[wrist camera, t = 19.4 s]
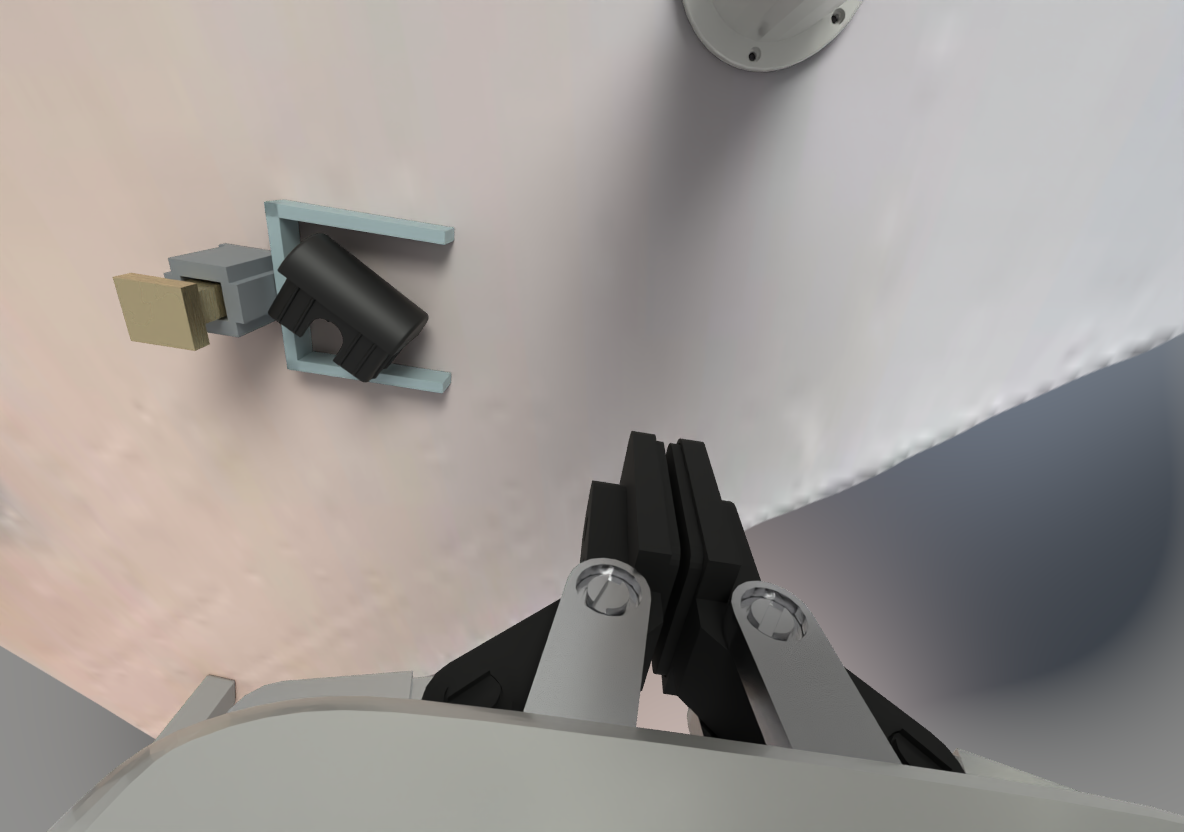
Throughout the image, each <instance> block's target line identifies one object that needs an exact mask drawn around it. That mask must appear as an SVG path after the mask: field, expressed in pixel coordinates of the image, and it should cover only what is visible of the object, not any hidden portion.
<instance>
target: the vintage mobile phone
mask: <svg viewBox="0 0 1184 832" xmlns="http://www.w3.org/2000/svg"><path fill="white" fill-rule="evenodd" d="M234 703H235V681H234V680H230V679H226V678H222V677H218V676H213V675H208V676H206V678H205V679H204V680H203V681H202V683H201V684H200V685H199V686H198V688H197V689H196V690H195V691H194V692H193V694H192V695H191V696H190V697H189V699H188V700H187V701H186V702H185V704H184V705H183V706H182V707H181V709H180V710H179V711H178V712H177V714H176V715H175V716H174V717H173V719H172V720H171V721H170V722H169V724H168V725H167V726H166V727H165V728H164V730H163V731H162V732H161V733H160V735H159V736H158V737H157V738H156V740H155V741H154V742H156V741H158V740H160V739H162V738H164V737H166V736H168V735H170V734H172V733H174V732H176V731H178V730H181V729H183V728H186V727H188V726H191V725H194V724H196V723H199V722H201V721H204V720H207V719H211V718H214V717H217V716H220V715H223V714H226V713H227V712H228V710H229V709H230V708H231V707H232V706H233V705H234ZM154 742H153V743H154Z"/></svg>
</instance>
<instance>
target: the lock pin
mask: <svg viewBox="0 0 1184 832" xmlns="http://www.w3.org/2000/svg"><path fill="white" fill-rule="evenodd" d="M113 280H114V283H115V287H116V290H117V294H118V297H119V301H120V304H121V308H122V311H123V315H124V318H125V322H126V325H127V328H128V332H129V335H130V339H131V341H135V342H142V343H148V344H155V345H161V346H167V347H174V348H180V349H187V350H193V351H196V350H198V349H200V348H202V347H205V346H207V345H209V344H210V343H209V338H208V334H207V329H206V323H209V322H212V321H214V320H217V319H219V318H222V317H225V316H227V312H226V307H225V302H224V297H223V292H222V286H221V282H216V281H209V280H203V279H197V278H192V279H189V280H185V281H179V280H173V279H167V278H160V277H154V276H148V275H142V274H135V273H129V274H124V275H120V276H115V277H113Z"/></svg>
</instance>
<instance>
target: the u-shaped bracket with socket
mask: <svg viewBox="0 0 1184 832" xmlns="http://www.w3.org/2000/svg"><path fill="white" fill-rule="evenodd" d="M264 205H265V213H266V220H267V227H268V234H269V241H270V248H271V251H270V250H264V249H257V248H251V247H245V246H239V245H233V244H227V243H225V244H220V245H219V247H218V248H213V249H208V250H204V251H199V252H194V253H189V254H184V255H180V256H175V257H170V258H168V260H169V265H170V269H171V272H166V273H164V277H165V278H167V279H173V280H179V281H185V280H189V279H192V278H197V279H203V280H209V281H216V282H221V286H222V292H223V297H224V302H225V307H226V312H227V316H225V317H222V318H219V319H217V320H214V321H212V322H209V323H206V329H207V332H208V333H214V334H221V335H227V336H233V337H241V336H243V335H245V334H247V333H249V332H252V331H254V330H256V329H258V328H260V327H263V326H265V325H267V324H269V323H271V322H273V321H276V320H274V319H273V318H272V317H271V316H269V314H268V310H269V308H270V307H271V305H272V303H273V301H274V300H275V298H276V296H277V294H278V293H279V291H280V289H281V288H282V286H283V284H284V282H285V281H286V279H287V278H286V277H284V276H283V275H282V274H280V273H279V272H278V271H277V269H278V268H279V266H280V265H281V263H282V262H283V260H284V259H285V258H286V257H287V255H288V254H289V253H290V252H291V251H292V250H293V249H294V248H295V247H296V246H297V245H298V244H300V234H299V225H298V221H303V222H309V223H315V224H321V225H327V226H333V227H339V228H345V229H351V230H357V231H364V232H370V233H376V234H382V235H388V236H394V237H400V238H406V239H412V240H419V241H425V242H431V243H437V244H443V245H445V244H447V243H450V242H452V241H454V228H453V227H447V226H440V225H434V224H428V223H422V222H416V221H410V220H404V219H398V218H392V217H386V216H380V215H374V214H368V213H362V212H355V211H349V210H343V209H337V208H331V207H325V206H319V205H313V204H307V203H301V202H295V201H289V200H275V201H266V202H264ZM281 326H282V333H283V340H284V347H285V354H286V361H287V369H290V370H296V371H302V372H309V373H315V374H322V375H328V376H334V377H341V378H347V379H354V380H358V379H357V378H356V377H354V376H353V375H351V374H350V373H349V372H347V371H346V370H344V369H343V368H342V367H340V366H339V365H337V364H336V363H335V362H333V359H334V358H335V356H336V355H334V354H328V353H321V352H315V351H313V348H312V339H311V331H310V326H309V327H308V329H307V330H306V332H305V334H304V335H303V336H302V337H298V336H297V335H295V334H294V333H293V332H291V331H290V330H288V329H287V328H286V327H284V326H283V325H281ZM369 382H373V383H379V384H386V385H392V386H399V387H405V388H411V389H418V390H424V391H431V392H437V393H443V392H444V391H445V390H446V388H447V387H448V386H449V385H450V383H451V373H449V372H442V371H436V370H430V369H423V368H417V367H410V366H404V365H398V364H390V365H389V367H388V368H387V369H383V370H382V371H381V372H380V374H379V375H378V376H377V378H376V379H371V380H370V381H369Z"/></svg>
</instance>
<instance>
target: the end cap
mask: <svg viewBox="0 0 1184 832" xmlns="http://www.w3.org/2000/svg"><path fill="white" fill-rule="evenodd" d="M277 271H278V272H279V273H280V274H282V275H283V276H284V277H286V278H287V279H286V281H285V282H284V284H283V286H282V288H281V289H280V291H279V293H278V294H277V296H276V298H275V300H274V301H273V303H272V305H271V307H270V308H269V310H268V314H269V316H271V317H272V318H273V319H274V320H276V321H277V322H279V323H280V324H281V325H283V326H284V327H286V328H287V329H288V330H290V331H291V332H293V333H294V334H295V335H297V336H298V337H302V336H303V335H304V334H305V332H306V330H307V329H308V327H309V326H310V324H311V322H312V321H313V320H314V319H319V318H320V319H325V320H327V321H328V322H329V321H331V322H332V323H334V324H335V325H336V326H337V327H338V328H339V330H340V331H341V334H342V336H343V345H342V347H341V349H340V350H339V352H338V353H337V355H336V356H335V358H334V359H333V362H335V363H336V364H337V365H339V366H340V367H342V368H343V369H344V370H346V371H347V372H349V373H350V374H351V375H353V376H354V377H356V378H357V379H358V380H360V381H362V382H369V381H370V380H371V379H376V378H377V376H378V375H379V374H380V372H381V371H382V370H383V369H387V368H388V367H389V365H390V364H391V363H392V361H393V360H394V359H395V357H396V356H397V355H398V354H399V352H400V351H401V350H402V348H403V347H404V346H406V345H407V344H408V343H409V342H410V341H411V340H413V339H414V338H415V337H416V336H417V335H418V334H419V333H420V332H421V330H422V329H423V327H424V326H425V324H426V323H427V321H428V318H429V317H428V314H427V313H426V312H424V311H423V310H422V309H420V308H419V307H418V306H417V305H415V304H414V303H413V302H412V301H410V300H409V299H408V298H406V297H405V296H404V295H403V294H401V293H400V292H399V291H398V290H396V289H395V288H394V287H393V286H391V285H390V284H389V283H387V282H386V281H385V280H384V279H382V278H381V277H380V276H379V275H377V274H376V273H375V272H374V271H372V270H371V269H370V268H368V267H367V266H366V265H365V264H363V263H362V262H361V261H360V260H358V259H357V258H356V257H355V256H353V255H352V254H351V253H349V252H348V251H347V250H346V249H344V248H343V247H342V246H341V245H339V244H338V243H337V242H335V241H334V240H333V239H332V238H330V237H329V236H328V235H326V234H323V233H319V234H315V235H312V236H310V237H308V238H306V239H305V240H304V241H302V242H301V243H300V244H298V245H297V246H296V247H295V248H294V249H293V250H292V251H291V252H290V253H289V254H288V255H287V257H286V258H285V259H284V260H283V262H282V263H281V265H280V266H279V268H278V269H277Z"/></svg>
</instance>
